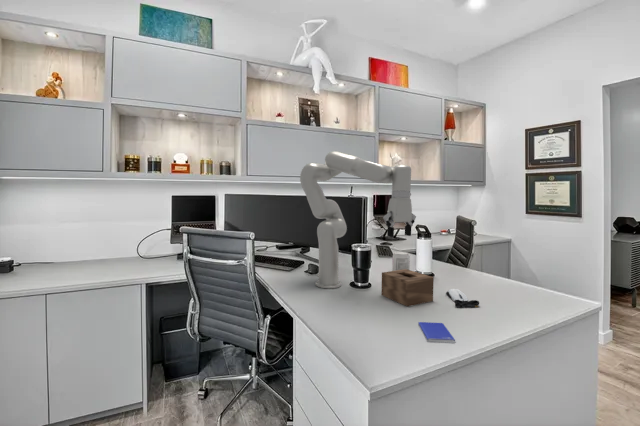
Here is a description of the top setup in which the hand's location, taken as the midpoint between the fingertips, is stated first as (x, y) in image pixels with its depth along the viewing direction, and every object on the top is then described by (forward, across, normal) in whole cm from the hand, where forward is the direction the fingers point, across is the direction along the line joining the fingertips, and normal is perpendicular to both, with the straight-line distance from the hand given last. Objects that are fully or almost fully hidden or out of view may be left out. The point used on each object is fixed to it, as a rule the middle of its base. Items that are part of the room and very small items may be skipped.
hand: (399, 236), depth 134 cm
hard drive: (+27, +13, +32) cm, 44 cm away
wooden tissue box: (+26, -3, +3) cm, 27 cm away
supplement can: (+27, -17, -16) cm, 36 cm away
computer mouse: (+27, -20, +15) cm, 37 cm away
